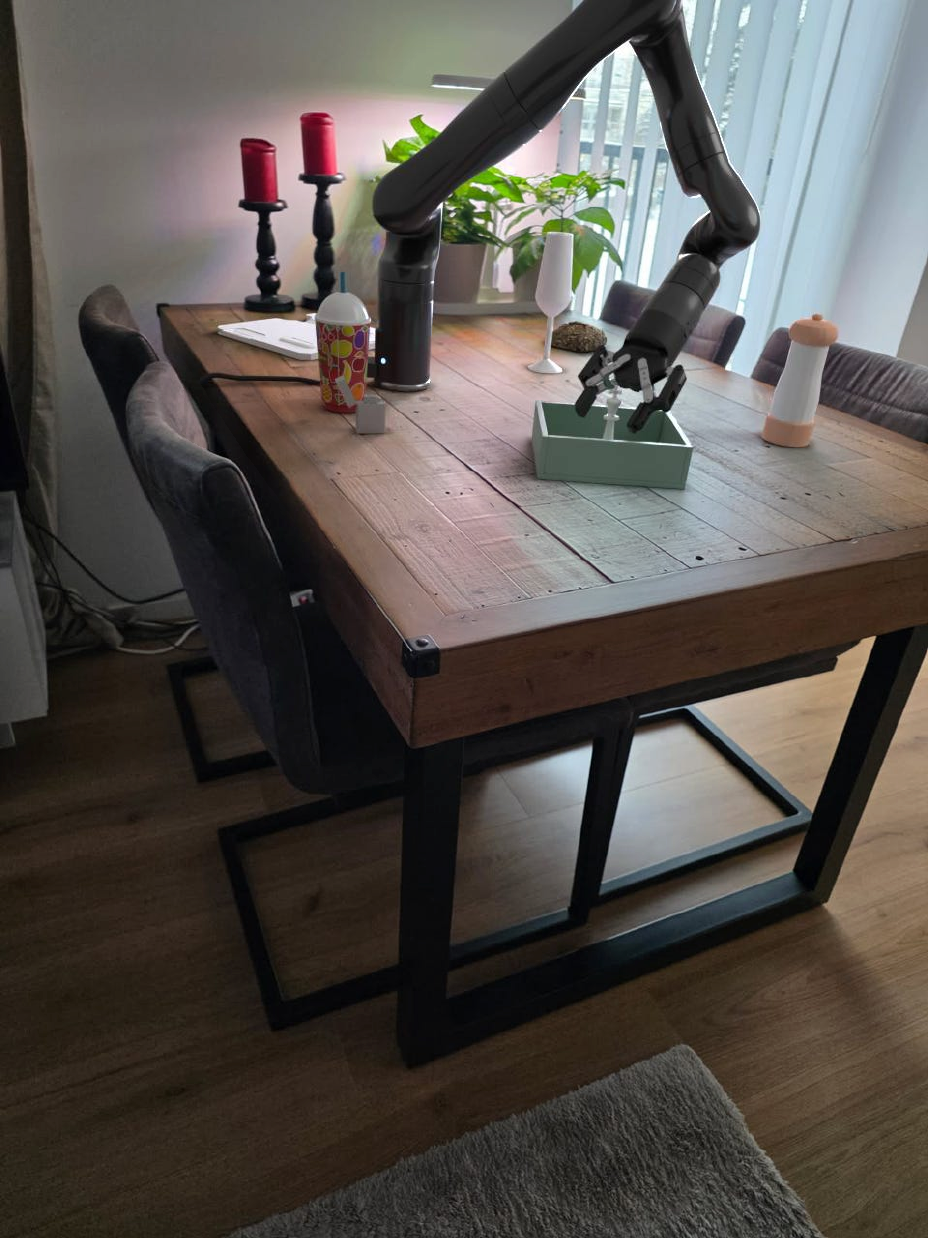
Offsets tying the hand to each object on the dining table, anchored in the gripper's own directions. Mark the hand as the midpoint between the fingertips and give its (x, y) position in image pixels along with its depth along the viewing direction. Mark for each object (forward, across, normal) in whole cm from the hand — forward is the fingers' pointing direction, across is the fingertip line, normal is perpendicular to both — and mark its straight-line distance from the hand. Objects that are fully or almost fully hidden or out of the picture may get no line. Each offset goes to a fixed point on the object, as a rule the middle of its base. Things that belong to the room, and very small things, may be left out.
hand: (604, 421), depth 116 cm
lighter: (+17, -30, -8) cm, 35 cm away
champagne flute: (-21, -38, +30) cm, 53 cm away
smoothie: (+13, -40, -4) cm, 43 cm away
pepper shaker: (-20, +12, +29) cm, 37 cm away
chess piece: (+3, 0, +5) cm, 6 cm away
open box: (+3, 0, +5) cm, 6 cm away
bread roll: (-37, -48, +46) cm, 76 cm away
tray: (-5, -81, +15) cm, 83 cm away
